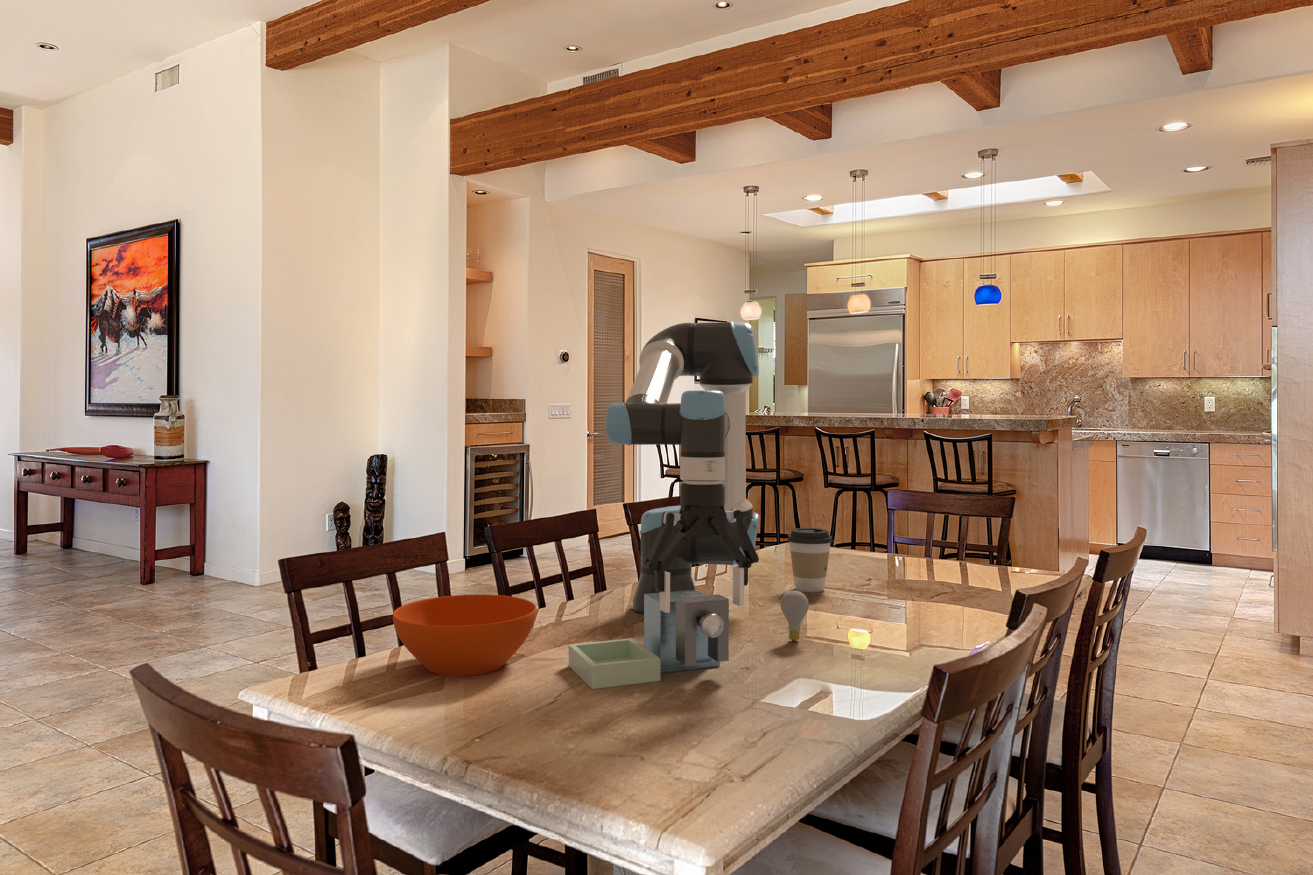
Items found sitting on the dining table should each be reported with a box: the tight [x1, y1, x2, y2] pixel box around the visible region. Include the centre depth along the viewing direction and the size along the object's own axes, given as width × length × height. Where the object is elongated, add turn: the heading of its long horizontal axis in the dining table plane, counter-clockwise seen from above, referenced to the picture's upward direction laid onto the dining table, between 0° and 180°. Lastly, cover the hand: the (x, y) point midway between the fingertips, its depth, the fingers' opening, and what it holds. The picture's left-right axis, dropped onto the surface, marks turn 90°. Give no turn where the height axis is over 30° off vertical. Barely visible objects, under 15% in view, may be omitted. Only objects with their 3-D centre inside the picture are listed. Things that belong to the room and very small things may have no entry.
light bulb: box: [780, 589, 810, 642], centre depth 175 cm, size 6×6×10 cm
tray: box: [568, 637, 661, 690], centre depth 154 cm, size 14×12×4 cm
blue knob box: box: [643, 589, 724, 674], centre depth 156 cm, size 20×12×12 cm, turn 22°
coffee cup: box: [787, 527, 834, 593], centre depth 225 cm, size 11×11×15 cm
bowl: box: [392, 594, 538, 677], centre depth 159 cm, size 25×25×10 cm
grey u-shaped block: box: [676, 594, 730, 666], centre depth 151 cm, size 4×8×10 cm, turn 112°
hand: (702, 608), depth 150 cm, fingers open, 13 cm apart
